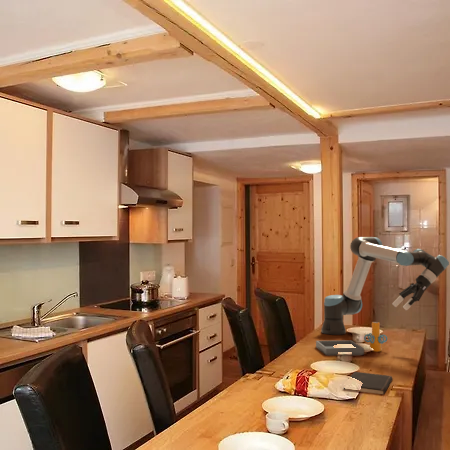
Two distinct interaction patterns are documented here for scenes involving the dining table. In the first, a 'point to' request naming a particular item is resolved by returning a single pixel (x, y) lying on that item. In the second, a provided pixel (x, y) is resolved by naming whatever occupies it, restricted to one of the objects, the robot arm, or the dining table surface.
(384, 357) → the dining table surface
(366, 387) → the hardcover book
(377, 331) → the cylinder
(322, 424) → the dining table surface
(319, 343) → the tray
